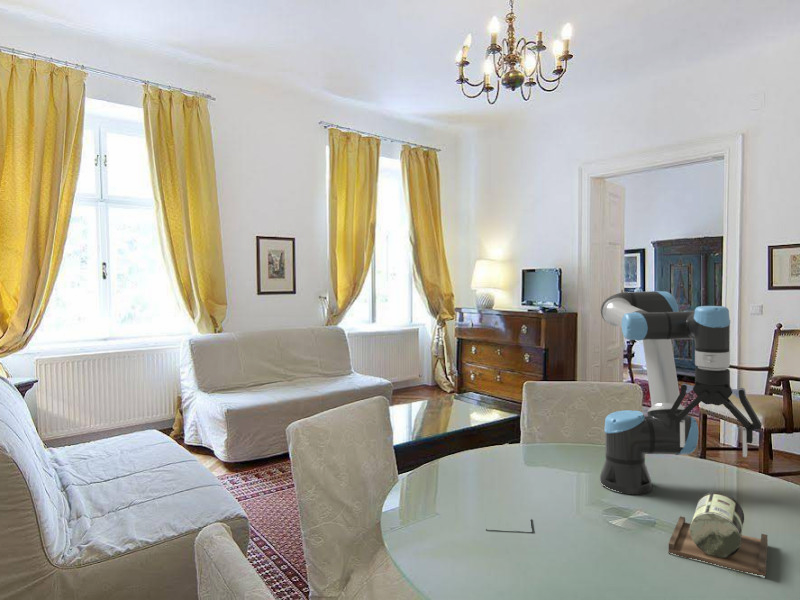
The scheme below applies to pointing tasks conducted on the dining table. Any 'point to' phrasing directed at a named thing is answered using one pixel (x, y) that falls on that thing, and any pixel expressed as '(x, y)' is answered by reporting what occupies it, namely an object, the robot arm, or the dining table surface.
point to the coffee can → (717, 525)
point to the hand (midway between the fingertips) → (712, 450)
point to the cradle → (745, 559)
